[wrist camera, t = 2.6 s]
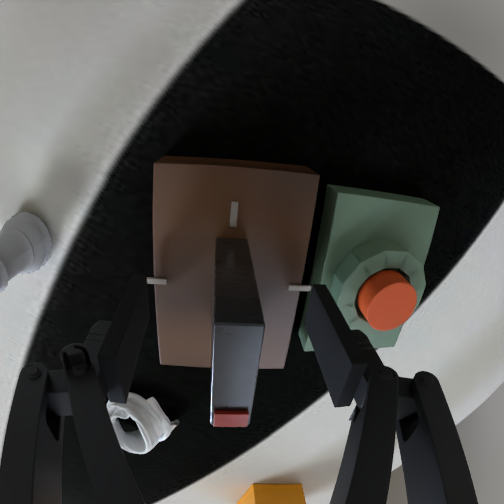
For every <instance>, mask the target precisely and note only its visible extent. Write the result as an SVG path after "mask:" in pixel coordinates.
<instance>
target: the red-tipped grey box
mask: <svg viewBox="0 0 504 504" xmlns="http://www.w3.org/2000/svg"><path fill="white" fill-rule="evenodd" d="M264 331H265V321H264V316H263V311H262V306H261V302H260V297H259V292H258V287H257V282H256V277H255V272H254V268H253V263H252V258H251V253H250V248H249V243H248V240H247V239H232V238H216V244H215V261H214V279H213V299H212V322H211V375H210V423H211V424H214V426H215V427H247V425H249V423H250V417H251V411H252V405H253V400H254V394H255V387H256V381H257V375H258V369H259V363H260V357H261V350H262V344H263V338H264Z"/></svg>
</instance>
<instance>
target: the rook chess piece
mask: <svg viewBox="0 0 504 504" xmlns="http://www.w3.org/2000/svg"><path fill="white" fill-rule="evenodd" d="M51 250H52V244H51V237H50V234H49V231H48V229H47V227H46V225H45V224H44V223H43V222H42V221H41V220H40V219H39V218H38V217H37V216H35V215H33V214H31V213H29V212H19V213H17V214H16V215H14V216H12V218H11V219H10V220H8V221H6V223H5V224H4V226H3V228H2V230H1V231H0V291H3V290H5V288H6V286H7V285H8V281H9V280H10V279H11V278H13V277H14V276H16V275H17V274H24V273H31V272H34V271H36V270H38V269H40V267H41V266H43V265H45V264H46V262H47V261H48V259H49V258H50V255H51Z"/></svg>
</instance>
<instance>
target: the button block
mask: <svg viewBox="0 0 504 504" xmlns="http://www.w3.org/2000/svg"><path fill="white" fill-rule="evenodd" d="M439 209H440V208H439V207H438V206H437V205H435V204H433V203H431V202H429V201H427V200H425V199H423V198H417V197H411V196H405V195H399V194H393V193H386V192H380V191H373V190H366V189H359V188H352V187H344V186H337V185H329V184H328V185H327V188H326V195H325V201H324V207H323V213H322V218H321V224H320V230H319V235H318V241H317V246H316V252H315V257H314V262H313V267H312V272H311V277H310V282H309V285H311V290H312V286H313V284H326V286H327V288H328V290H329V291H330V293H331V295H332V297H333V298H334V300H335V302H336V304H337V306H338V307H339V309H340V311H341V313H342V315H343V316H344V318H345V320H346V322H347V324H348V326H349V327H350V329H351V330H355V329H360V330H361V331H362V332H363V333H364V334H366V335H367V337H368V339H369V340H370V343H371V344H372V346H373V347H374V348H382V347H394V346H395V343H396V341H397V338H398V336H399V333H400V331H401V328H402V326H403V324H401V325H400V326H398V327H396V328H394V329H391V330H387V331H380V330H376V329H374V328H373V327H371V325H370V324H369V323H368V321H367V320H366V318H365V316H364V315H363V313H362V312H361V310H360V308H359V306H358V294H359V291H360V289H361V287H362V285H363V284H364V282H365V281H366V280H367V279H368V278H369V277H370V276H372V275H373V274H375V273H377V272H379V271H382V270H394V271H397V272H399V273H400V274H401V275H402V276H403V277H404V278H405V279H406V280H407V281H408V282H409V283H410V284H411V285H412V286H413V287H414V289H415V291H416V294H417V302H416V306H415V309H414V311H415V310H416V308H417V306H418V305H419V303H420V300H421V297H422V295H423V292H424V289H425V285H426V282H425V275H424V269H423V266H424V263H425V260H426V257H427V253H428V250H429V246H430V243H431V239H432V236H433V232H434V228H435V225H436V221H437V217H438V213H439ZM311 290H310V291H308V292H307V297H306V301H305V306H304V311H303V315H302V320H301V325H300V329H299V333H298V334H299V337H300V340H301V343H302V346H303V349H304V351H314V349H313V346H312V344H311V341H310V338H309V335H308V333H307V330H306V327H305V325H304V322H305V318H306V313H307V309H308V304H309V300H310V295H311ZM414 311H413V312H414Z"/></svg>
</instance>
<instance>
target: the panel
mask: <svg viewBox="0 0 504 504" xmlns="http://www.w3.org/2000/svg"><path fill="white" fill-rule="evenodd" d="M319 178H320V175H318V174H317V173H315V172H314V171H312V170H311V169H309V168H308V167H306V166H298V165H289V164H280V163H270V162H259V161H248V160H235V159H221V158H205V157H184V156H163V157H162V158H160V159H159V160H157V161H156V162H155V163H154V172H153V259H154V278H153V277H147V283H149V284H154V285H155V304H156V319H157V332H158V344H159V355H160V364H164V365H177V366H193V367H211V322H212V299H213V279H214V261H215V244H216V238H232V239H247V240H248V243H249V248H250V253H251V258H252V263H253V268H254V272H255V277H256V282H257V287H258V292H259V297H260V302H261V306H262V311H263V316H264V321H265V331H264V338H263V344H262V350H261V357H260V363H259V369H272V368H284V365H285V360H286V356H287V351H288V347H289V342H290V338H291V333H292V328H293V323H294V318H295V314H296V309H297V304H298V299H299V294H300V291H310V290H311V285H301V283H302V278H303V273H304V267H305V262H306V256H307V251H308V245H309V240H310V234H311V228H312V222H313V216H314V210H315V204H316V197H317V191H318V184H319Z"/></svg>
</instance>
